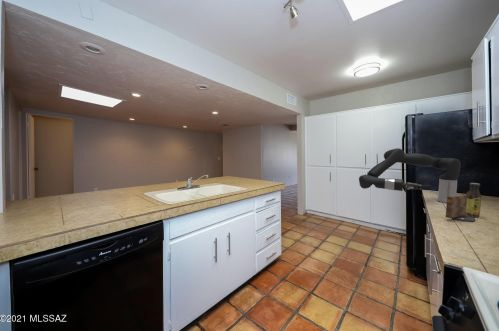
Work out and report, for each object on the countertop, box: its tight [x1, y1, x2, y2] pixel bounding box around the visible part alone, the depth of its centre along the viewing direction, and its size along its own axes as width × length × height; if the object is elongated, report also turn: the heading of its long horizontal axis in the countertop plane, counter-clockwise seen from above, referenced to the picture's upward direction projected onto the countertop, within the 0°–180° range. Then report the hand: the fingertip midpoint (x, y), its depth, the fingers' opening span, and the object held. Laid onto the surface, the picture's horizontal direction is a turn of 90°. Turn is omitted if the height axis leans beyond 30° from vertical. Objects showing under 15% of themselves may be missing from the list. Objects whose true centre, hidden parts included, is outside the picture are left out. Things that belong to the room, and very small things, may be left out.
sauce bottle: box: [465, 182, 482, 218], centre depth 112 cm, size 6×6×20 cm
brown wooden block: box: [445, 194, 467, 219], centre depth 107 cm, size 13×4×12 cm, turn 105°
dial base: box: [450, 215, 476, 223], centre depth 109 cm, size 11×11×1 cm
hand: (430, 187), depth 112 cm, fingers closed
